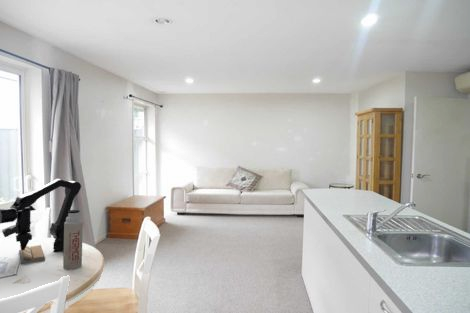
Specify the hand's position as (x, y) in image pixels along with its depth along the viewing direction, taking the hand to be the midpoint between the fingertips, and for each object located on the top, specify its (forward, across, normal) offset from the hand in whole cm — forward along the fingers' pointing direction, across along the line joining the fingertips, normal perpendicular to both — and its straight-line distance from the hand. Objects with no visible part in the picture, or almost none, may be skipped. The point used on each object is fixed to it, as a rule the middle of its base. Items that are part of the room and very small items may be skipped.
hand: (23, 249), depth 149 cm
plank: (+2, -3, +1) cm, 4 cm away
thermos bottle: (+5, +23, +19) cm, 30 cm away
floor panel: (+5, -3, +4) cm, 7 cm away
